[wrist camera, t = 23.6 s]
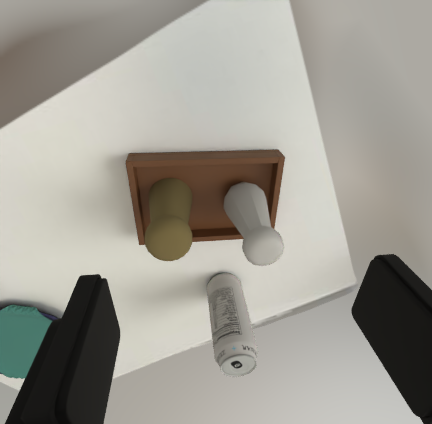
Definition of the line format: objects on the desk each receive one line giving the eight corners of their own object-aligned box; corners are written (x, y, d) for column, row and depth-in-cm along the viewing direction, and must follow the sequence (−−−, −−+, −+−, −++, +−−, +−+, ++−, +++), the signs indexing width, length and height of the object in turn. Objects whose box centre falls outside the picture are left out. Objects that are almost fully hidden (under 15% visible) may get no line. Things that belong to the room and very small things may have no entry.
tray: (278, 149, 38) (285, 156, 35) (268, 226, 44) (273, 237, 42) (128, 153, 35) (125, 161, 33) (141, 233, 42) (139, 245, 40)
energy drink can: (217, 299, 52) (229, 384, 39) (200, 280, 49) (207, 365, 36) (245, 285, 50) (268, 367, 38) (230, 265, 47) (248, 347, 35)
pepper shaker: (199, 206, 40) (206, 257, 30) (161, 222, 40) (157, 277, 31) (180, 170, 37) (181, 215, 27) (139, 188, 37) (127, 238, 28)
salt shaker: (235, 218, 42) (255, 283, 31) (213, 192, 39) (227, 252, 28) (268, 197, 40) (302, 256, 29) (248, 168, 38) (277, 221, 27)
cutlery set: (30, 379, 58) (24, 391, 56) (-129, 296, 42) (-143, 309, 41) (108, 343, 55) (106, 354, 53) (-32, 240, 39) (-43, 250, 37)
